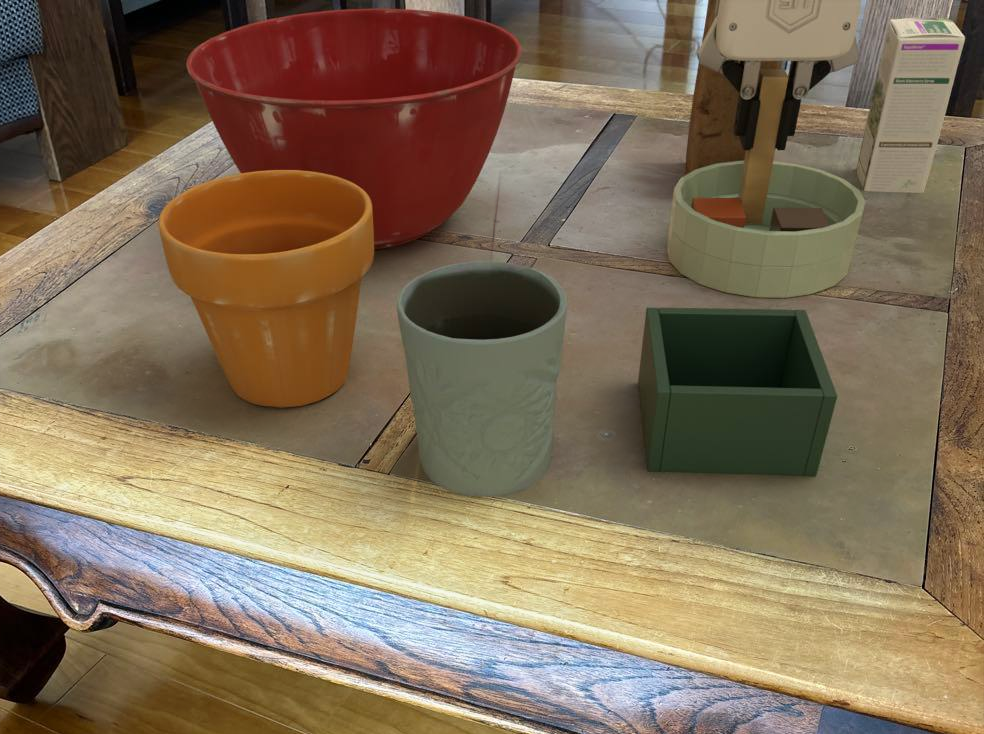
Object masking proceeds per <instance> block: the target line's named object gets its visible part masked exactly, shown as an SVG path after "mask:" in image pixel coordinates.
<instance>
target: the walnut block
mask: <svg viewBox="0 0 984 734" xmlns="http://www.w3.org/2000/svg"><path fill="white" fill-rule="evenodd" d="M827 226H830V225H829V222H828V220H827V218H826V216H825V214H824V212H823V210H822V208H773V213H772V218H771V223H770V228H769V231H790V232H796V231H804V230H811V229H819V228H824V227H827Z"/></svg>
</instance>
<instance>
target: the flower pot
mask: <svg viewBox="0 0 984 734" xmlns="http://www.w3.org/2000/svg"><path fill="white" fill-rule="evenodd" d="M157 224H158V225H157V226H158V231H159V235H160V239H161V244H162V249H163V252H164V253H163V254H164V257H165V260H166V265H167V267H168V272H169V275H170V277H171V279H172V281H173V283H174V284H175V285H176V287H177V288H178V290H180V291H181V292H183V293H184V294H186V295H187V296H189V297H190V298H191V299H190V300H191V301H192V303H193V306H194V307H195V309H196V311H197V314H198V316H199V319H200V321H201V323H202V325H203V328H204V330H205V332H206V334H207V336H208V339H209V342H210V343H211V346H212V348H213V350H214V353H215V355H216V356H217V359H218V361H219V363H220V365H221V367H222V370H223V372H224V374H225V376H226V379H227V381H228V383H229V385H230V387H231V389H232V391H233V392H234V393H235V394H236V395H237V396H238V397H239V398H240V399H242V400H244V401H246V402H248V403H251V404H254V405H257V406H262V407H274V408H295V407H298V406H299V407H300V406H306V405H309V404H311V403H316V402H319V401H321V400H323V399H325V398H328V397H330V396H331V395H332V394H334V393H336V392H337V391H338V390H339V389H341V387H342V386H343V385H344V384H345V383H346V381H347V379H348V377H349V376H348V375H349V371H350V366H351V360H352V351H353V346H354V345H353V344H354V339H355V338H354V337H355V332H356V331H355V330H356V324H357V316H358V308H359V299H360V291H361V285H362V284H361V283H362V278H363V277H364V276H366V274H367V273H368V272H369V270H370V268H371V266H372V265H373V261H374V258H375V249H374V228H373V212H372V203H371V200H370V198H369V196H368V195H367V193H366V192H365V191H364V190H363V189H362V188H360V187H359V186H357V185H356V184H354V183H352V182H350V181H347V180H345V179H342V178H339V177H336V176H332V175H328V174H323V173H318V172H310V171H300V170H269V171H256V172H248V173H242V174H241V173H237V174H232V175H226V176H223V177H219V178H215V179H212V180H210V181H206V182H203V183H201V184H198V185H195V186H193V187H191V188H189V189H187V190H185V191H183V192H181V193H180V194H178V195H177V196H175V197H174V198H172V199H171V200H170V201H169V202H168V203H167V204H166V205H165V206H164V207H163V209H162V210H161V211H160V214H159V217H158V222H157Z"/></svg>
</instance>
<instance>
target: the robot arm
mask: <svg viewBox="0 0 984 734" xmlns="http://www.w3.org/2000/svg"><path fill="white" fill-rule="evenodd" d="M861 4H862V0H717V3H716V9H715V16H714V22H713V24H712V25H711V27H710V29H709V31H708V33H707V35H706V37H705V39H704V41H703V43H702V42H701V44H700V46H699V49H697V53H696V57H697V58H696V59H697V60H698V64H699V63H700V64H701V65H703V66H705V67H707V68H710V69H712V70H714V71H716V72H719V73H721V74H724V75H725V77H726V78H727V79H728V80H729V81H730V83H731V84H732V85H733V86H734V88H735V89H736V90H737V91H738V92H739V97H738V104H737V110H736V116H735V123H734V135H735V136H739V139H740V142H741V145H742V147H743V150H750V149H751V148H753V146H754V140H755V134H756V128H757V122H758V116H759V110H760V104H761V101H760V100H759V99H758V91H759V90H758V88H757V82H758V76H759V70H760V64H761V61H782V62H790V63H789V68H788V73H787V75H788V77H789V78H788V83H787V89H786V94H785V100H784V101H783V107H782V112H781V117H780V123H779V128H778V134H777V139H776V145H775V148H776V149H777V151H785V150H786V147H787V142H788V137H794V136H795V133H796V129H797V123H798V118H799V115H800V109H801V108H800V107H801V104H802V100H804V99H805V98H807V96H808V94H809V92H810V91H811V90H812V89H813V88H814V87H816V86H817V85H818V84H819V83H820V82H821V81H822V80H824V79H825V78H826V77H827V76H828V75H829V74H831V73H835V72H838V71H841V70H844V69H845V68H849V67H851V66H853V65H855V64H857V63H858V61H859V58H860V53H859V48H858V43H857V38H856V33H857V29H858V24H859V18H860V12H861V6H862V5H861ZM737 60H739V63H738V61H737ZM776 149H775V150H776Z"/></svg>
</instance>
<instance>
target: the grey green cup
mask: <svg viewBox="0 0 984 734" xmlns="http://www.w3.org/2000/svg"><path fill="white" fill-rule="evenodd" d="M395 305H396V313H397V319H398V325H399V330H400V331H399V332H400V336H401V341H402V346H403V349H404V351H403V352H404V357H405V364H406V371H407V379H408V386H409V393H410V399H411V402H412V405H413V408H414V409H413V418H414V424H415V431H416V437H417V444H418V454H419V461H420V464H421V469H422V470H423V472H424V474H425V475H426V476H427V477H428V479H429V480H430V481H432V482H433V483H434V484H436V485H437V486H439V487H441V488H442V489H445V490H447V491H449V492H452V493H455V494H459V495H464V496H468V497H477V498H494V497H502V496H507V495H511V494H515V493H518V492H521V491H523V490H526V489H528V488H529V487H531V486H533V485H535V484H536V483H538V482H539V481H540V480H541V479H542V478H543V477H544V476H545V474H546V473H547V471H548V469H549V468H550V465H551V460H552V453H553V452H552V450H553V444H554V443H553V442H554V425H553V423H554V422H553V420H554V415H555V406H556V403H557V401H558V391H557V383H558V382H557V381H558V378H559V376H560V373H561V365H562V357H563V347H564V337H565V328H566V319H567V312H568V296H567V293H566V291H565V289H563V287H562V286H561V285H560V283H559V282H557V280H555V278H553V277H551V276H550V275H548V274H547V273H545V272H543V271H541V270H538V269H535V268H531V267H528V266H525V265H521V264H517V263H511V262H505V261H469V262H460V263H453V264H449V265H444V266H441V267H438V268H435V269H431V270H429V271H427V272H425V273H423V274H420V275H419V276H417V277H415V278H413V279H412V280H411V281H409V282H408V283H406V285H405V286H404V287H403V288H402V290H401V291H400V292H399V295H398V297H397V300H396V304H395Z"/></svg>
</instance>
